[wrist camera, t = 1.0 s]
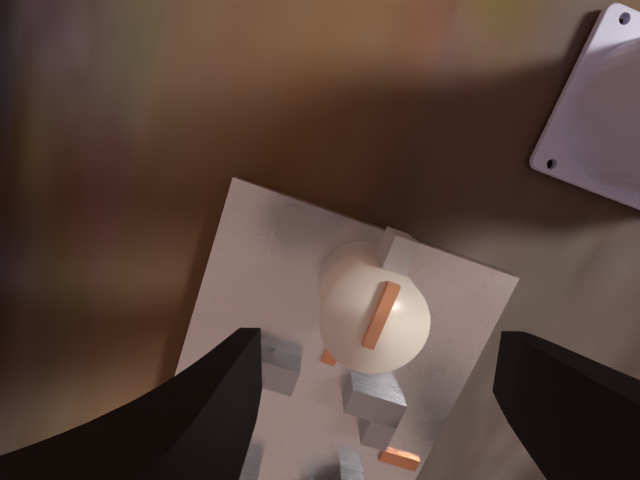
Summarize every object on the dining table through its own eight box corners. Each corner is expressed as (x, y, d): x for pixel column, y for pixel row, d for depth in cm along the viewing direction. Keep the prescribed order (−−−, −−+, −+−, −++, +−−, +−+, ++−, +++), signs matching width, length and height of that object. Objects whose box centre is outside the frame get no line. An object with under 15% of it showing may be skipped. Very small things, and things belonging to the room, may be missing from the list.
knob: (383, 328, 19) (406, 391, 14) (308, 304, 19) (304, 359, 14) (425, 232, 18) (467, 263, 13) (345, 204, 18) (356, 224, 13)
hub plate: (509, 272, 20) (536, 288, 17) (388, 509, 24) (397, 550, 21) (237, 176, 18) (224, 178, 16) (157, 444, 22) (138, 479, 20)
